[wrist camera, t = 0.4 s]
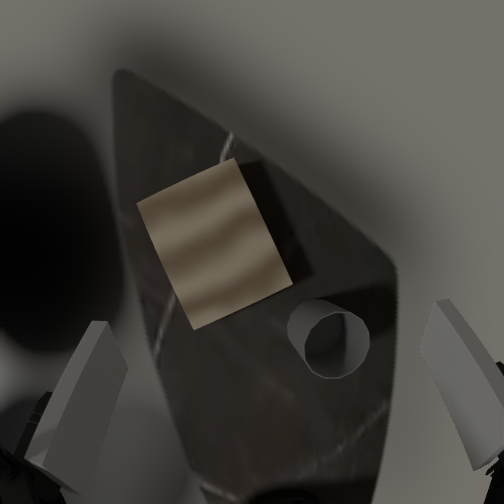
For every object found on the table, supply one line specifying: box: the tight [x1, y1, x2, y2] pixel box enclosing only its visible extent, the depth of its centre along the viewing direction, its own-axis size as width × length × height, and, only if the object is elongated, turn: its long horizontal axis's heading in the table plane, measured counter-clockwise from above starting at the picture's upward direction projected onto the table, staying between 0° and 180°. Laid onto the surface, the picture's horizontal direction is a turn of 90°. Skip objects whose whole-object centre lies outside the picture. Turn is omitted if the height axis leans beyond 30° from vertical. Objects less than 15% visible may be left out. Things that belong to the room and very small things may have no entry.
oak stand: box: [137, 158, 293, 330], centre depth 40 cm, size 18×14×4 cm
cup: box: [287, 299, 369, 378], centre depth 38 cm, size 8×8×10 cm
